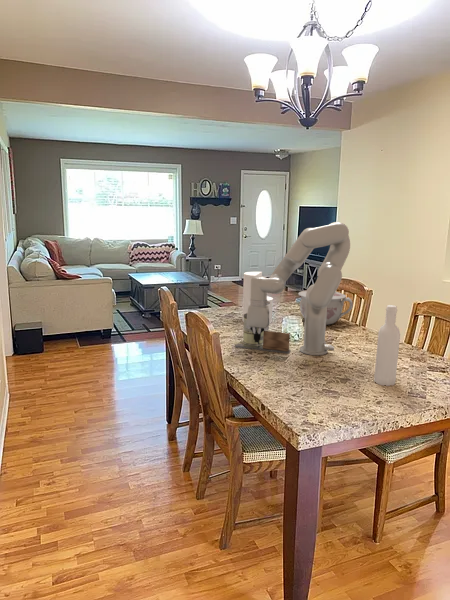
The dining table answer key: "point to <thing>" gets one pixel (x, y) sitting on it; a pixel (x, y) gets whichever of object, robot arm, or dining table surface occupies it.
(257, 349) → the grey flat strip
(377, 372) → the bottle
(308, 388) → the dining table surface
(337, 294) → the chamber pot
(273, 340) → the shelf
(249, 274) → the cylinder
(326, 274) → the robot arm
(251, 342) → the coffee can
